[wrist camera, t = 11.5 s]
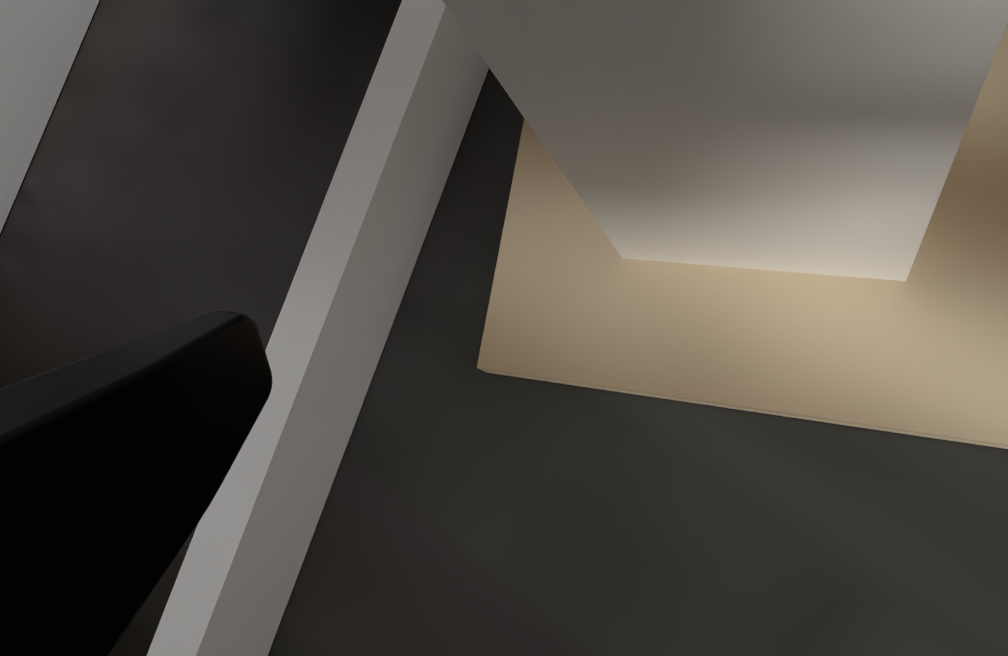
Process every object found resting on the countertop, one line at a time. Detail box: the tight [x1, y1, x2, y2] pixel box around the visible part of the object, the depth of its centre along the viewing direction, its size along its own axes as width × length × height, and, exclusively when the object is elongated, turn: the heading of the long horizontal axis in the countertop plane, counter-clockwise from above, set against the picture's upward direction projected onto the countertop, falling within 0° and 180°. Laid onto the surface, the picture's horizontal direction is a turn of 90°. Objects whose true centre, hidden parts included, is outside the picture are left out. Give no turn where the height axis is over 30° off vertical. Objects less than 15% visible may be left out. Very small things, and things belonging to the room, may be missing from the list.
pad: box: [477, 23, 1008, 449], centre depth 17 cm, size 10×10×1 cm
